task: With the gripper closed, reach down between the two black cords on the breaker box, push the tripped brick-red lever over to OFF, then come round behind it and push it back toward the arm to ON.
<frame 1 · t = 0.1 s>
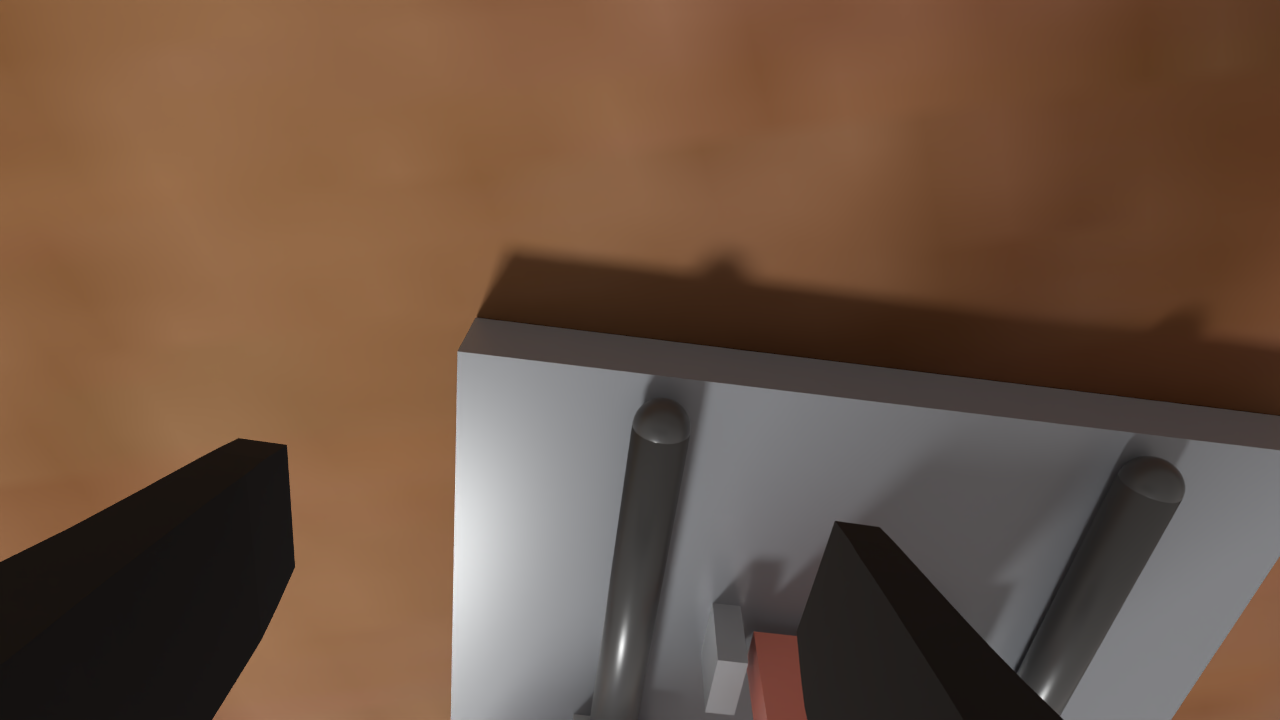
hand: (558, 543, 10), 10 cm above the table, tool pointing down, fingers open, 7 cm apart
breaker box: (819, 591, 24), on the table
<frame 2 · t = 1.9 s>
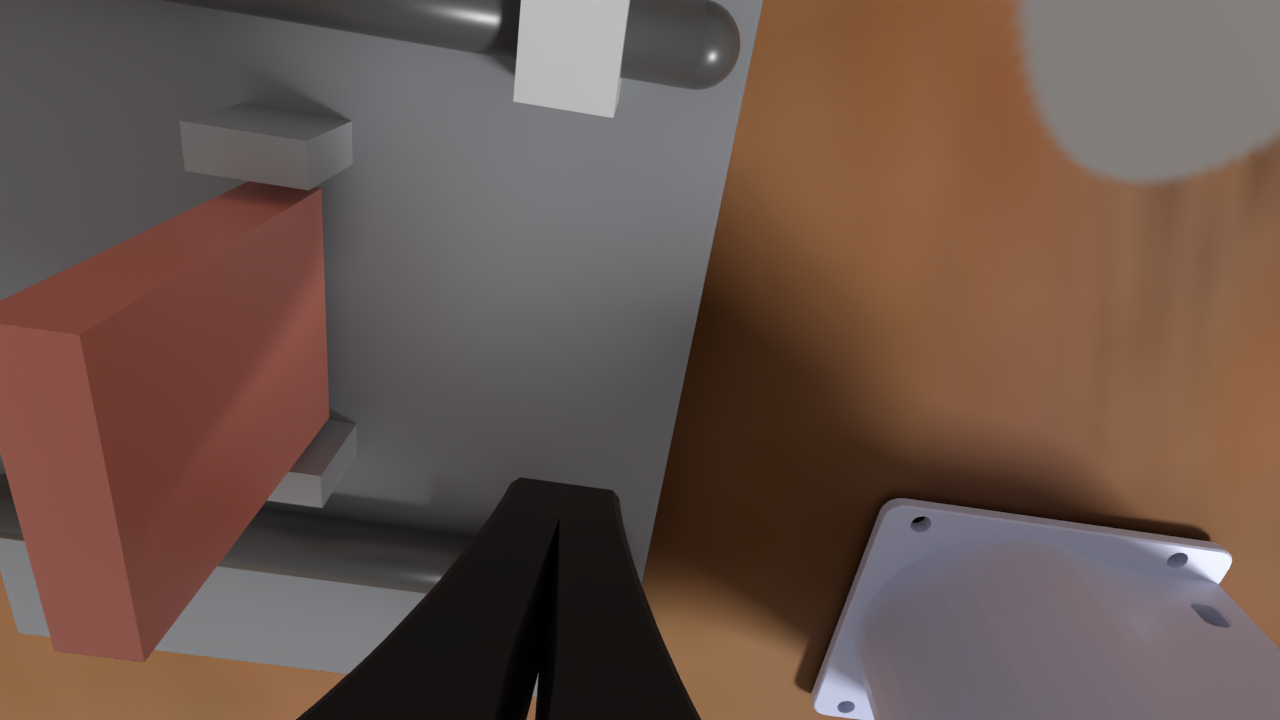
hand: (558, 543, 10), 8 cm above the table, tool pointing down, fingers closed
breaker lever: (208, 384, 12), point 6 cm above the table, hinge at 0.0°
breaker box: (342, 264, 17), on the table
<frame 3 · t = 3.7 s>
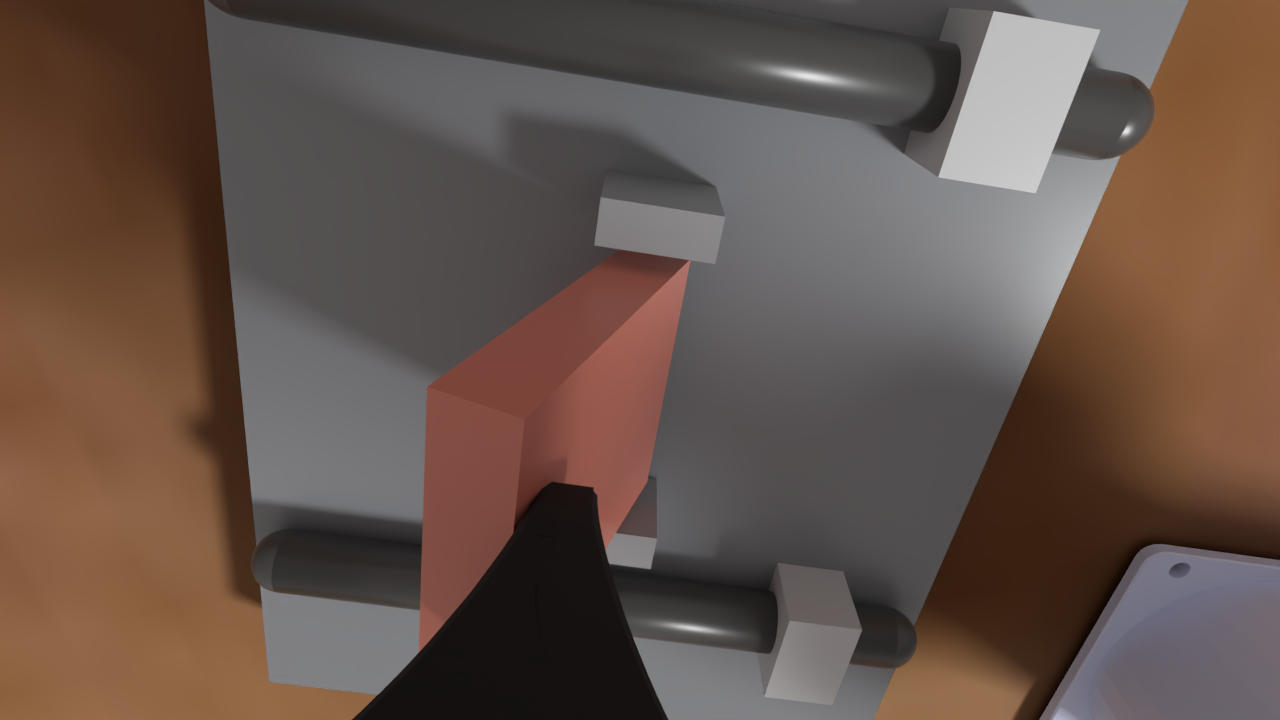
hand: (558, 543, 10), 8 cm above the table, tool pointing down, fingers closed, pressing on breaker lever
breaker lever: (571, 449, 12), point 6 cm above the table, hinge at 18.7°, touching gripper
breaker box: (633, 318, 17), on the table
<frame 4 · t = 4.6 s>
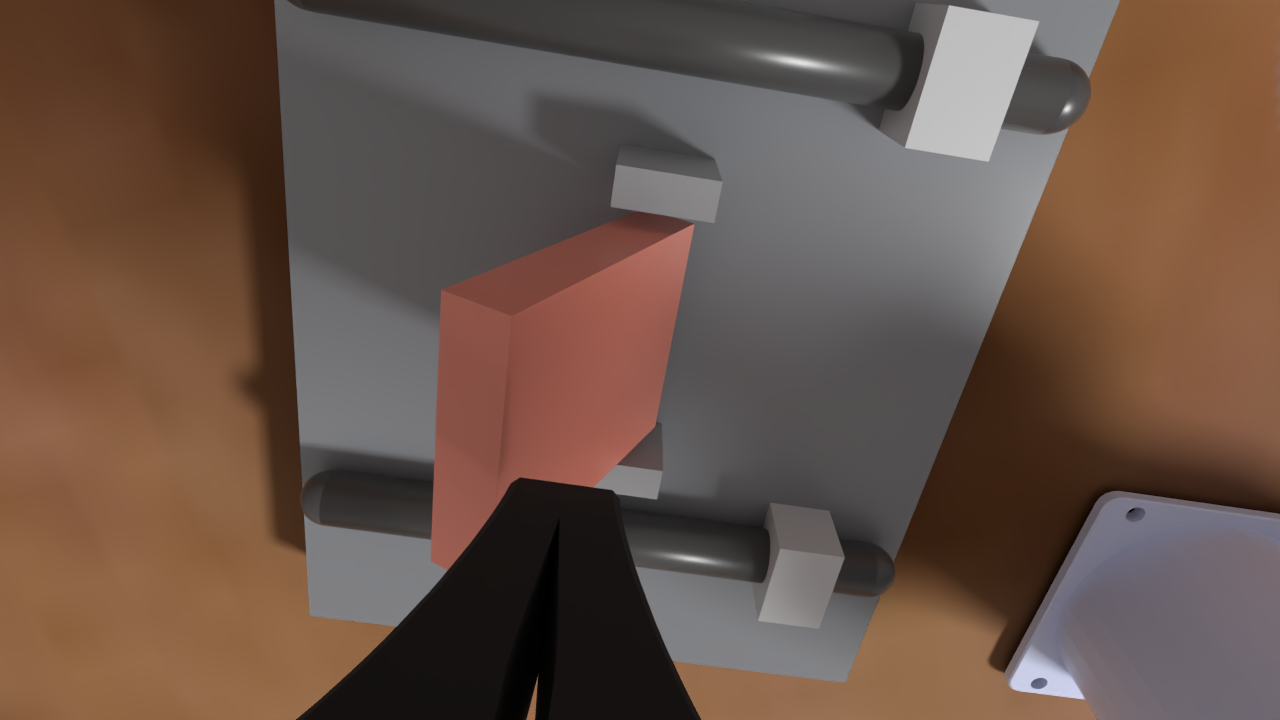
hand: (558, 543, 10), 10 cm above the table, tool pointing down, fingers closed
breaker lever: (575, 375, 14), point 5 cm above the table, hinge at 25.5°
breaker box: (641, 281, 19), on the table
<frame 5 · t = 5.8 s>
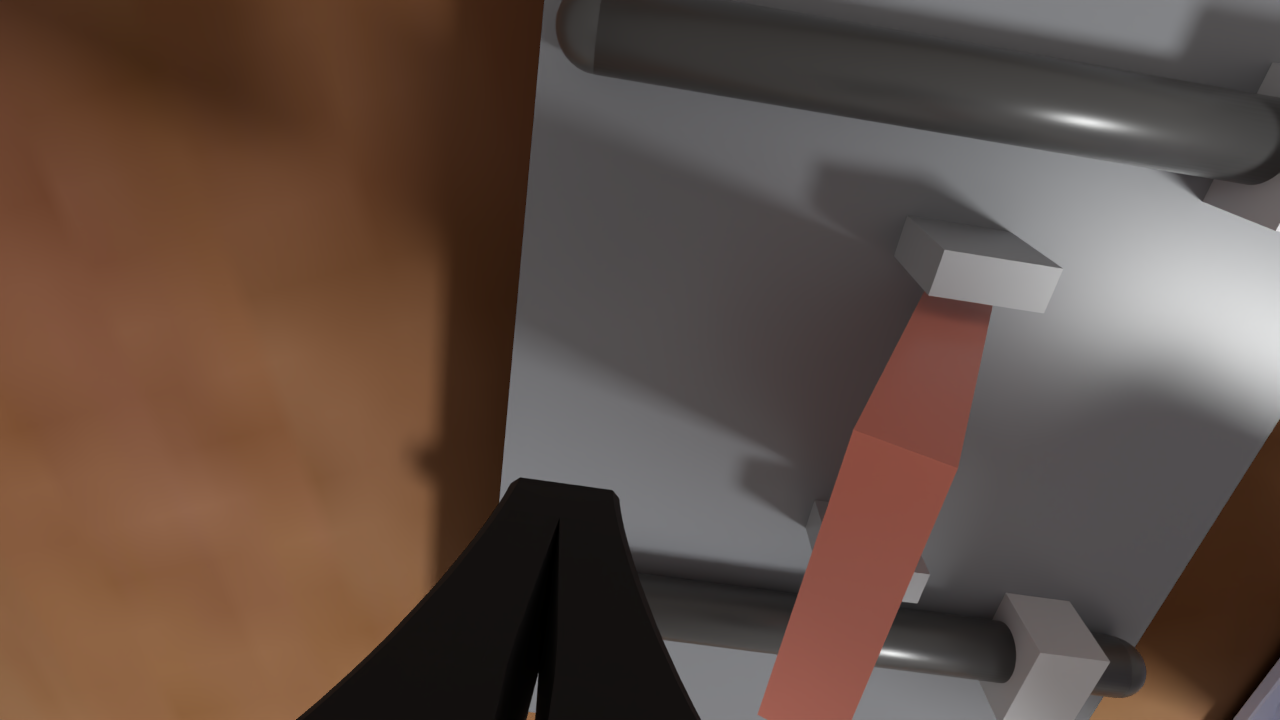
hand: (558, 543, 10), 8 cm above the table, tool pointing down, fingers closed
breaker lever: (888, 487, 12), point 5 cm above the table, hinge at 26.1°
breaker box: (872, 352, 17), on the table
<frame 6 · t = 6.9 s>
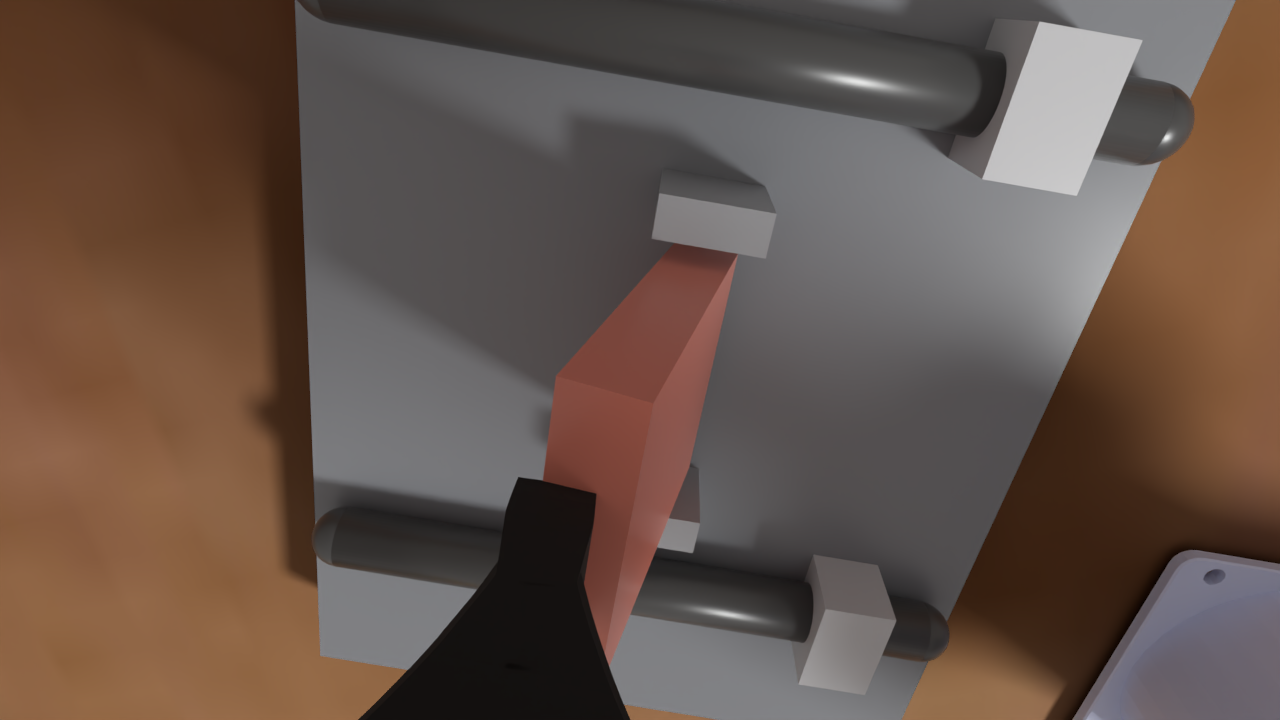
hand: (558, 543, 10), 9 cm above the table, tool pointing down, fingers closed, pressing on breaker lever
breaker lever: (642, 435, 13), point 6 cm above the table, hinge at 12.3°, touching gripper
breaker box: (679, 313, 18), on the table
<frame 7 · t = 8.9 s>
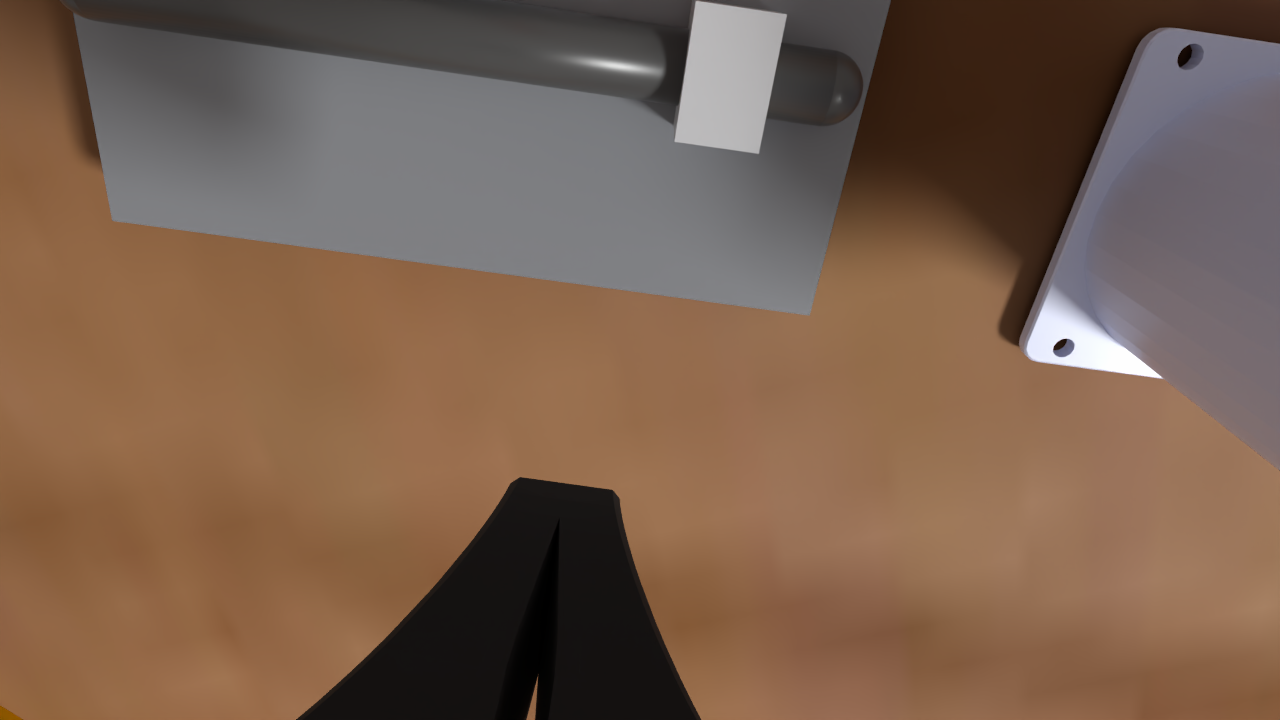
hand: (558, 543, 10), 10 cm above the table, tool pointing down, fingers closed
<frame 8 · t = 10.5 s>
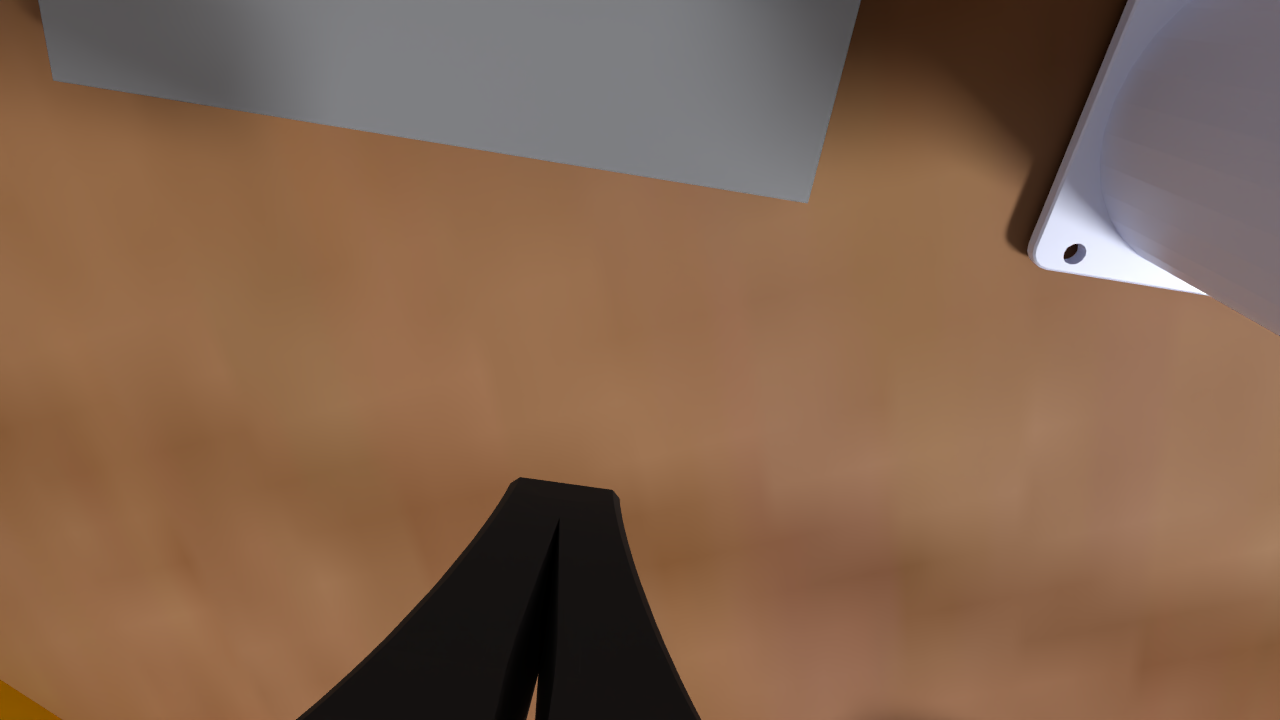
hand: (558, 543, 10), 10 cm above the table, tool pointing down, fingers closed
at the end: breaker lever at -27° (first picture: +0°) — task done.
